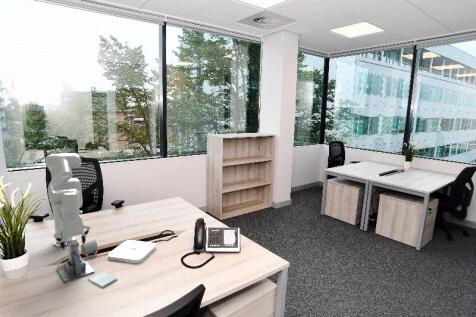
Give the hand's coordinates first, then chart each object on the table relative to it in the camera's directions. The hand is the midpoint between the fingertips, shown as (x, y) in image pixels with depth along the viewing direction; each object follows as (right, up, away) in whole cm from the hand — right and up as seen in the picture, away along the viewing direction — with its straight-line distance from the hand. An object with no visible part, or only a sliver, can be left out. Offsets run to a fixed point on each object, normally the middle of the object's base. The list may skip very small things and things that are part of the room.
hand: (73, 245), depth 149 cm
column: (-1, -13, +2) cm, 14 cm away
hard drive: (+18, -17, -5) cm, 26 cm away
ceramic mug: (-2, -12, +21) cm, 24 cm away
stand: (-1, -15, +3) cm, 15 cm away
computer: (+23, -13, +24) cm, 36 cm away
